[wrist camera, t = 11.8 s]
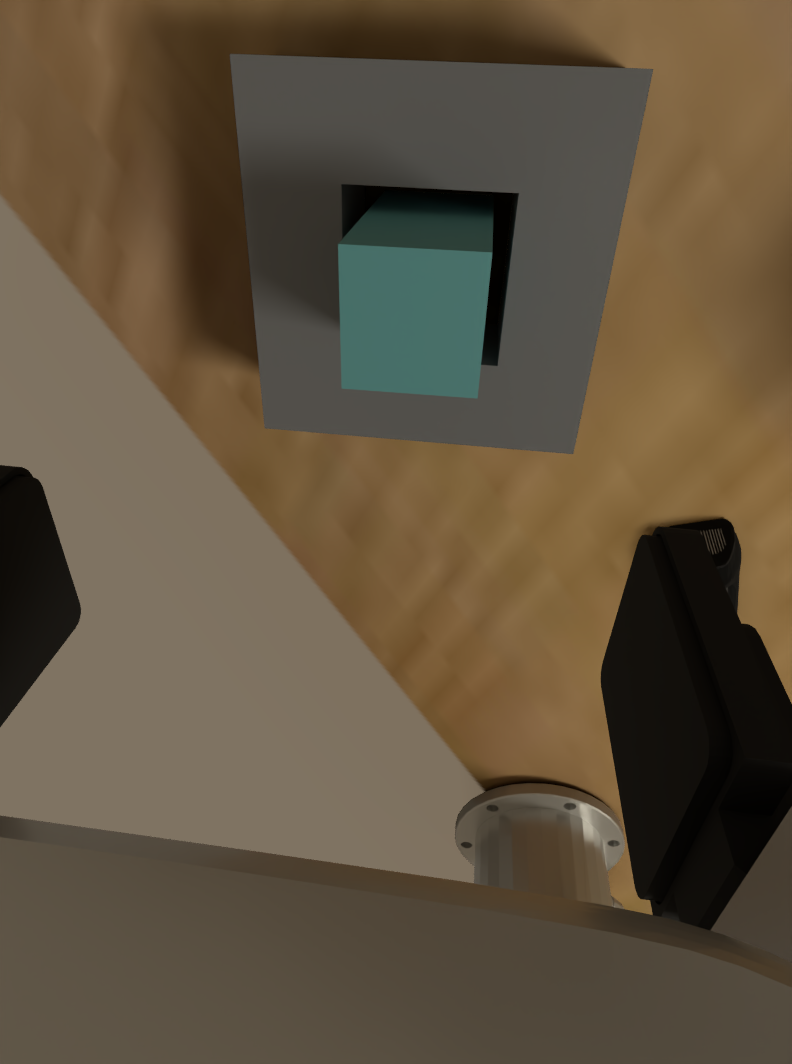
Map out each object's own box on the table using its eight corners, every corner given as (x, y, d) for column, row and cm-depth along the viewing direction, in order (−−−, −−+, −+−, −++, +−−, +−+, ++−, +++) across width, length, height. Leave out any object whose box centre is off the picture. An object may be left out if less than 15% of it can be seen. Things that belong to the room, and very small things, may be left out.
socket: (626, 68, 24) (653, 69, 20) (563, 403, 31) (573, 453, 27) (273, 55, 25) (229, 53, 21) (293, 382, 32) (264, 428, 28)
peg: (493, 195, 27) (492, 252, 19) (483, 305, 29) (477, 398, 21) (385, 189, 27) (338, 244, 19) (384, 299, 30) (341, 388, 22)
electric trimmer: (669, 715, 43) (680, 757, 41) (656, 524, 35) (669, 561, 32) (732, 710, 42) (747, 753, 40) (734, 513, 34) (753, 551, 31)
